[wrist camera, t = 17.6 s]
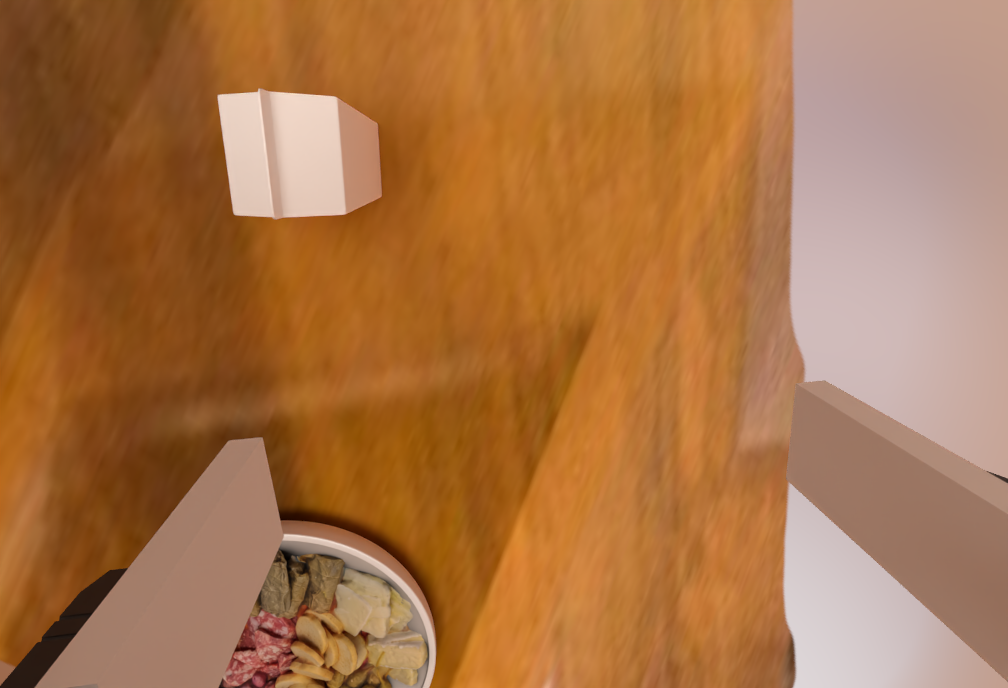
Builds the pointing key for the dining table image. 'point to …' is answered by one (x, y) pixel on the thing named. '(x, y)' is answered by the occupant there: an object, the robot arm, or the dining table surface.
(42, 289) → the dining table surface
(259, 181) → the milk
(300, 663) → the bowl
